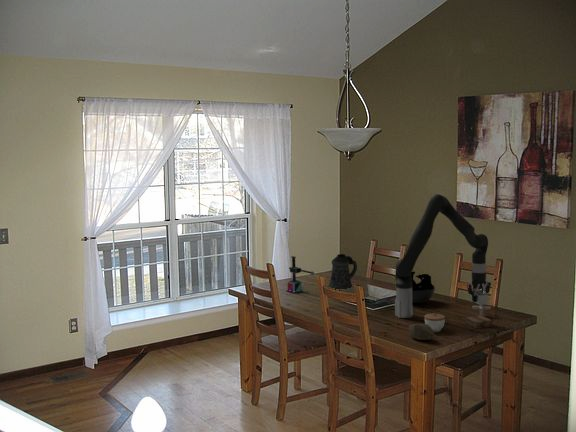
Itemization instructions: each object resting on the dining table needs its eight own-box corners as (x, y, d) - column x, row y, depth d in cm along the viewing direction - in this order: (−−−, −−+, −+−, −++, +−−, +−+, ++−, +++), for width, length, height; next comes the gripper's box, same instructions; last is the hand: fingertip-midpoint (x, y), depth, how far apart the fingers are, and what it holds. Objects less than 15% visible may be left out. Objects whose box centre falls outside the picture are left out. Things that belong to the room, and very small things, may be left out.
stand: (475, 328, 340) (475, 322, 340) (464, 322, 351) (464, 317, 351) (493, 325, 343) (493, 320, 343) (481, 320, 354) (482, 315, 354)
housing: (471, 301, 349) (471, 290, 348) (479, 300, 350) (479, 289, 349) (479, 304, 341) (479, 293, 340) (487, 303, 342) (487, 292, 341)
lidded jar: (444, 327, 344) (444, 310, 343) (445, 333, 333) (445, 316, 332) (424, 326, 346) (424, 310, 345) (424, 332, 336) (424, 315, 335)
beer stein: (323, 291, 434) (322, 255, 431) (342, 285, 447) (341, 251, 444) (341, 294, 422) (340, 258, 419) (360, 289, 435) (359, 253, 432)
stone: (440, 340, 322) (440, 325, 321) (429, 344, 317) (429, 329, 316) (414, 333, 335) (413, 319, 334) (403, 337, 330) (402, 322, 329)
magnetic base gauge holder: (282, 290, 439) (281, 256, 436) (292, 288, 445) (291, 254, 442) (306, 296, 420) (305, 260, 417) (316, 294, 426) (315, 258, 423)
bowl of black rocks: (435, 307, 384) (435, 277, 381) (402, 306, 387) (401, 276, 385) (434, 299, 403) (433, 270, 401) (402, 298, 407) (401, 270, 405)
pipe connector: (490, 314, 365) (490, 297, 364) (490, 319, 356) (490, 301, 355) (472, 313, 368) (472, 296, 367) (471, 318, 359) (471, 300, 358)
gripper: (486, 268, 349) (486, 298, 351) (463, 270, 345) (463, 301, 347) (494, 271, 342) (494, 301, 344) (471, 273, 338) (471, 304, 340)
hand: (478, 301), depth 346 cm, fingers closed on housing, 5 cm apart
